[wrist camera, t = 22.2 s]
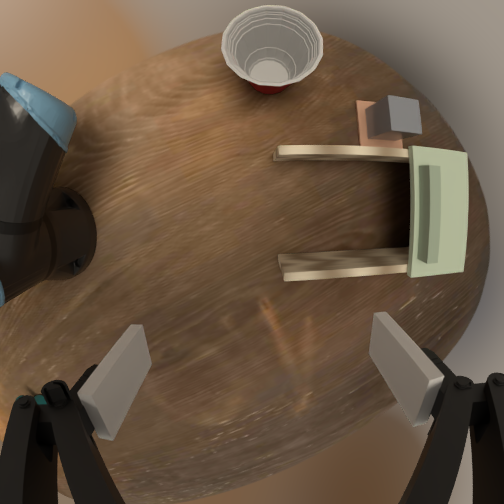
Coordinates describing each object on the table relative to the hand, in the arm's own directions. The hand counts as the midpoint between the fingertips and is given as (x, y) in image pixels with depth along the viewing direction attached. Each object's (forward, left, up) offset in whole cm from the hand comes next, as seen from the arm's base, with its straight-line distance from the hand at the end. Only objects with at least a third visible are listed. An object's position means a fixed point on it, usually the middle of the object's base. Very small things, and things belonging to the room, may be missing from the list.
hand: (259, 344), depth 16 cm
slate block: (+19, +17, -26) cm, 36 cm away
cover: (+23, +5, -17) cm, 29 cm away
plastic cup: (+3, +24, -27) cm, 36 cm away
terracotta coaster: (+19, +17, -27) cm, 37 cm away
